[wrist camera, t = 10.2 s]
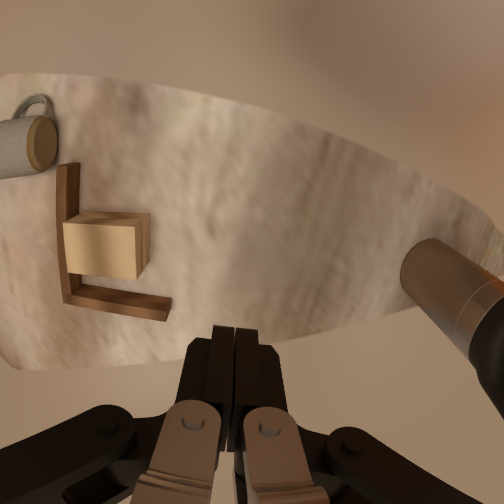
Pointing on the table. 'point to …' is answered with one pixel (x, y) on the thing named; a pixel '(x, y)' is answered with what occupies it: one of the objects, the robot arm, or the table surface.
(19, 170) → the ceramic mug
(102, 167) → the table surface
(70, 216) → the corner fence
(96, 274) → the oak block
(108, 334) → the table surface
